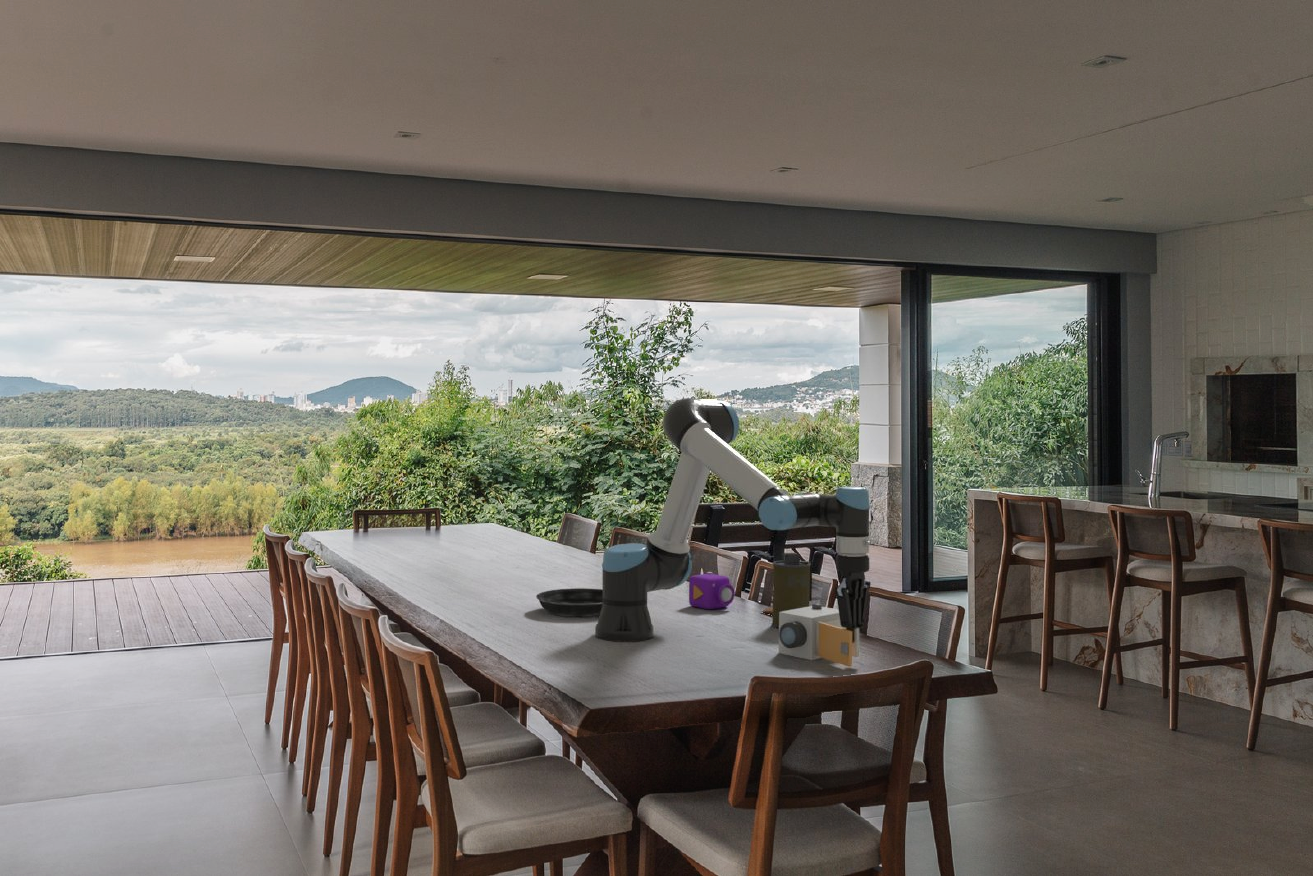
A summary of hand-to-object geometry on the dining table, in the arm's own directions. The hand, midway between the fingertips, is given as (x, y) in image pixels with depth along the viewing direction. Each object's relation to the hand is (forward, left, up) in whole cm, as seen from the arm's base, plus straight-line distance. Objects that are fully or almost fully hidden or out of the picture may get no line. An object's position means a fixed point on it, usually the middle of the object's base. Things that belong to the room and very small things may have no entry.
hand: (852, 655), depth 247 cm
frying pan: (+2, +93, -3) cm, 93 cm away
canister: (+26, +39, -3) cm, 47 cm away
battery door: (-3, +4, -1) cm, 5 cm away
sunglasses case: (+36, +48, -3) cm, 60 cm away
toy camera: (+30, +72, -3) cm, 78 cm away
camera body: (+3, +15, -2) cm, 15 cm away
